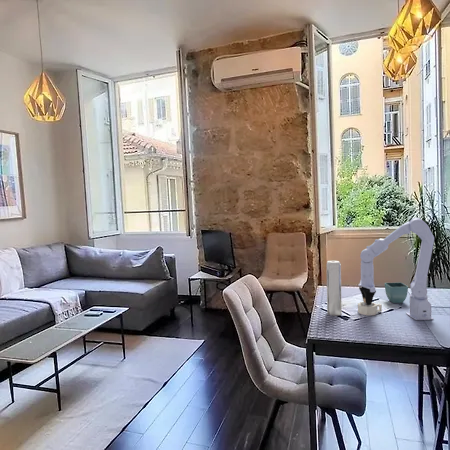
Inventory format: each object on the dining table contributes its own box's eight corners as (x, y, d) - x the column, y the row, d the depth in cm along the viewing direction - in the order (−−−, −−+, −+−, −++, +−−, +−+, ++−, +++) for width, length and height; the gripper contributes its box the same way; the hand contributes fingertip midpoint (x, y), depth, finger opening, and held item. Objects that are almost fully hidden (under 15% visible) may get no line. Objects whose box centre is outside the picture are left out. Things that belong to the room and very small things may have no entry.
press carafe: (384, 314, 182) (384, 306, 182) (362, 315, 182) (362, 307, 182) (377, 309, 190) (377, 301, 190) (356, 310, 190) (356, 302, 190)
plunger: (374, 312, 183) (374, 299, 183) (364, 312, 183) (364, 299, 183) (370, 309, 188) (370, 296, 188) (360, 309, 188) (360, 296, 188)
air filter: (342, 315, 183) (341, 262, 181) (327, 315, 184) (326, 262, 182) (341, 311, 189) (340, 259, 187) (327, 311, 190) (326, 260, 188)
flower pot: (408, 304, 196) (408, 286, 196) (390, 304, 197) (390, 287, 196) (401, 299, 205) (401, 282, 204) (384, 299, 205) (384, 282, 205)
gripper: (353, 272, 192) (353, 299, 193) (364, 278, 177) (364, 308, 178) (368, 271, 192) (368, 298, 193) (379, 278, 177) (380, 307, 178)
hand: (367, 303), depth 186 cm, fingers closed on plunger, 3 cm apart
